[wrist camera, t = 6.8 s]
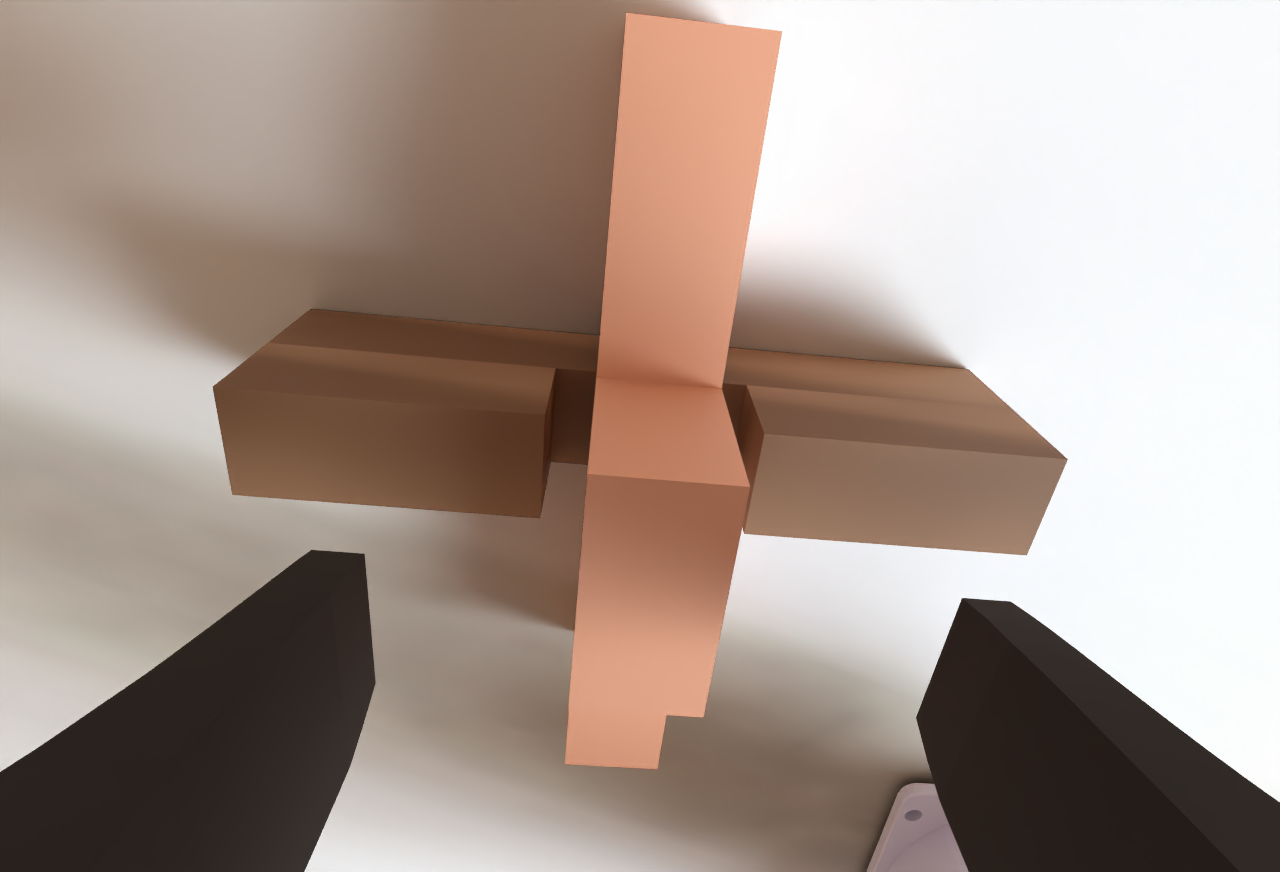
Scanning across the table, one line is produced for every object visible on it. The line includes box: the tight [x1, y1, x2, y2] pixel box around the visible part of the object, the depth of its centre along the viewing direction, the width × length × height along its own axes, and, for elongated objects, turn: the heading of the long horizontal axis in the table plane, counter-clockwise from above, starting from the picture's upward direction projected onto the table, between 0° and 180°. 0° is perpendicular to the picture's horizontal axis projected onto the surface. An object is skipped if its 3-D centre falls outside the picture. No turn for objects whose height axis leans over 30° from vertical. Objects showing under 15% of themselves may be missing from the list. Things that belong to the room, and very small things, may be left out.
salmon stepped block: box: [565, 13, 782, 769], centre depth 13 cm, size 14×2×7 cm, turn 174°
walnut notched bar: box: [213, 309, 1068, 555], centre depth 14 cm, size 2×14×4 cm, turn 84°
